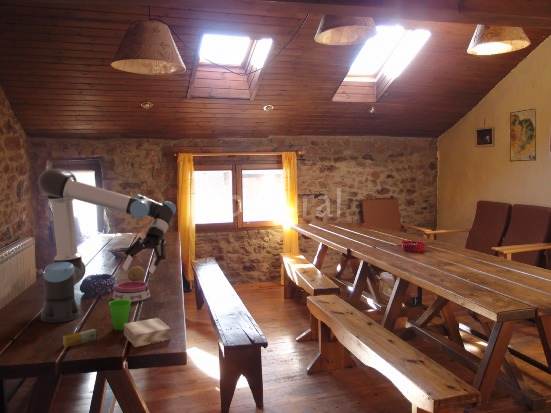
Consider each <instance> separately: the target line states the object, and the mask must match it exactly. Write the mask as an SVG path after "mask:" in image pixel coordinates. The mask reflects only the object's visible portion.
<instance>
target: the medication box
mask: <svg viewBox="0 0 551 413" xmlns="http://www.w3.org/2000/svg"><path fill="white" fill-rule="evenodd" d="M62 337H63V338H62V341H63V347H64V348H68V347H73V346H77V345H81V344H84V343H89V342H95V341H98V330H97V329H96V328H91V329H87V330H82V331H79V332H74V333H70V334H65V335H63V336H62Z"/></svg>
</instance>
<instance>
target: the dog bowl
mask: <svg viewBox="0 0 551 413" xmlns="http://www.w3.org/2000/svg"><path fill="white" fill-rule="evenodd" d="M149 288H150V287H149V285H148V283H147V282H145V281H131V280H129V281H123V282H119V283H117V284H116V285H115V286H114V289H113V295H112V298H111V299H112V301H113V300H119V299H126V300H130V301H131V302H133V303H135V302H134V301H139V302H144V301H146V300H149V299H150V298H151V291H150V289H149ZM139 302H138V303H139Z"/></svg>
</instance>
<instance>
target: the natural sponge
mask: <svg viewBox="0 0 551 413" xmlns="http://www.w3.org/2000/svg"><path fill="white" fill-rule="evenodd" d="M145 275H146V270H145V269H144V268H143V267H142V266H140V265H139V266H138V265H137V266H135V265H134V266H132V267H131V268H130V269H129V271H128V274H127V279H128V280H129V281H141V282H143V280H144V278H145Z"/></svg>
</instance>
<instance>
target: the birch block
mask: <svg viewBox="0 0 551 413" xmlns="http://www.w3.org/2000/svg"><path fill="white" fill-rule="evenodd" d="M171 330H172V328H171V327H170V326H169V325H167V324H166V323H165V322H164V320H163V321H162V320H161V319H160V318H159V317H154V318H150V319H149V318H148V319H143V320H138V321H131V322H128V323H125V324H124V330H123V336H124V335H125V336H126V337H127V338H128V339H127V338H126V337H125V336H124V337H125V338H126V339H127V340H128V341H129V342H130V343H131V345H132V346H133V347H134V348H137V347H142V346H145V345H150V344H151V343H152V344H157V343H161V342H160V341H162V342H165V341H164V340H167V339H171V340H172V336H171V335H172V334H171V333H172V331H171ZM167 341H168V340H167ZM156 342H157V343H156ZM152 344H151V345H152Z"/></svg>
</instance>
